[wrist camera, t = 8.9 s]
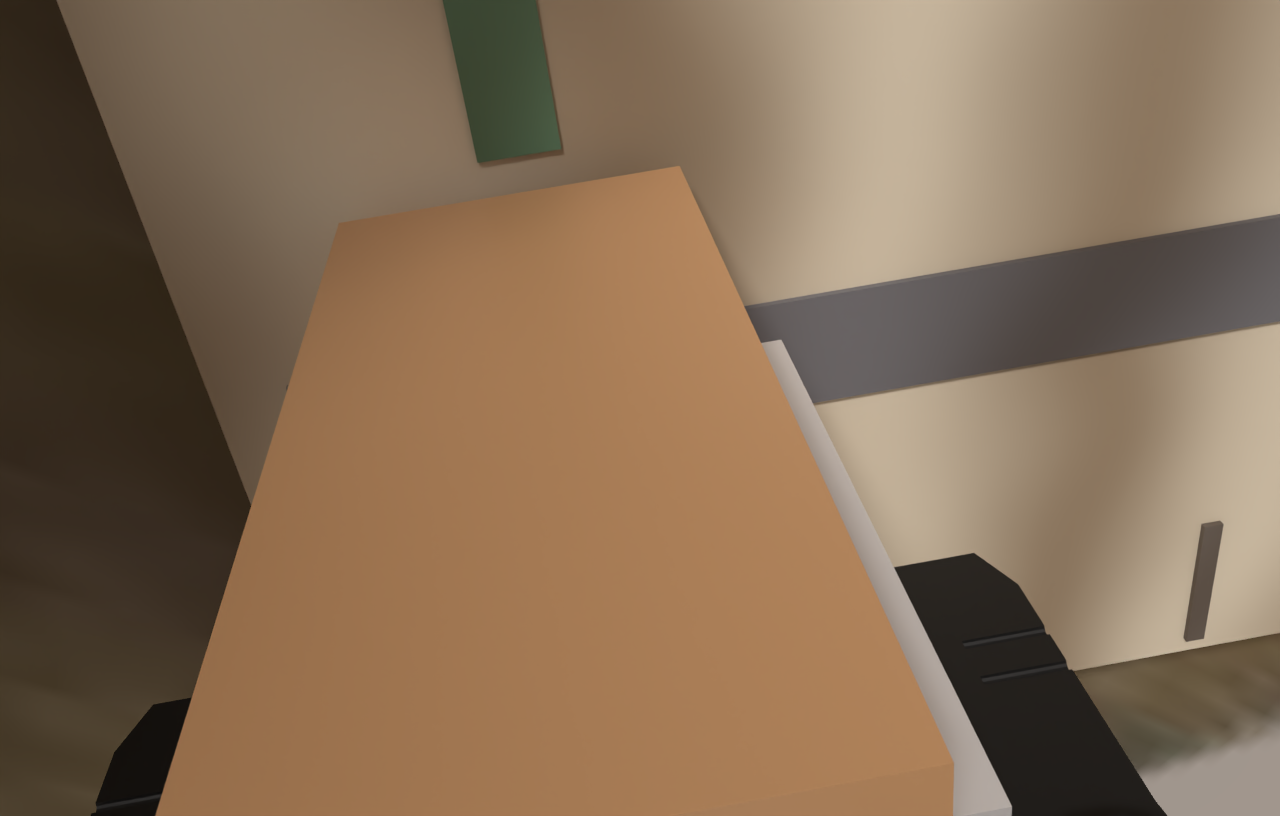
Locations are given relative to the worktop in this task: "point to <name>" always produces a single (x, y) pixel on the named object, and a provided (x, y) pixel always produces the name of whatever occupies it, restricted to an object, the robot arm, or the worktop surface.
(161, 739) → the robot arm
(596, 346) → the block
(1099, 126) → the fader board
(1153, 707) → the worktop surface
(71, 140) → the worktop surface
